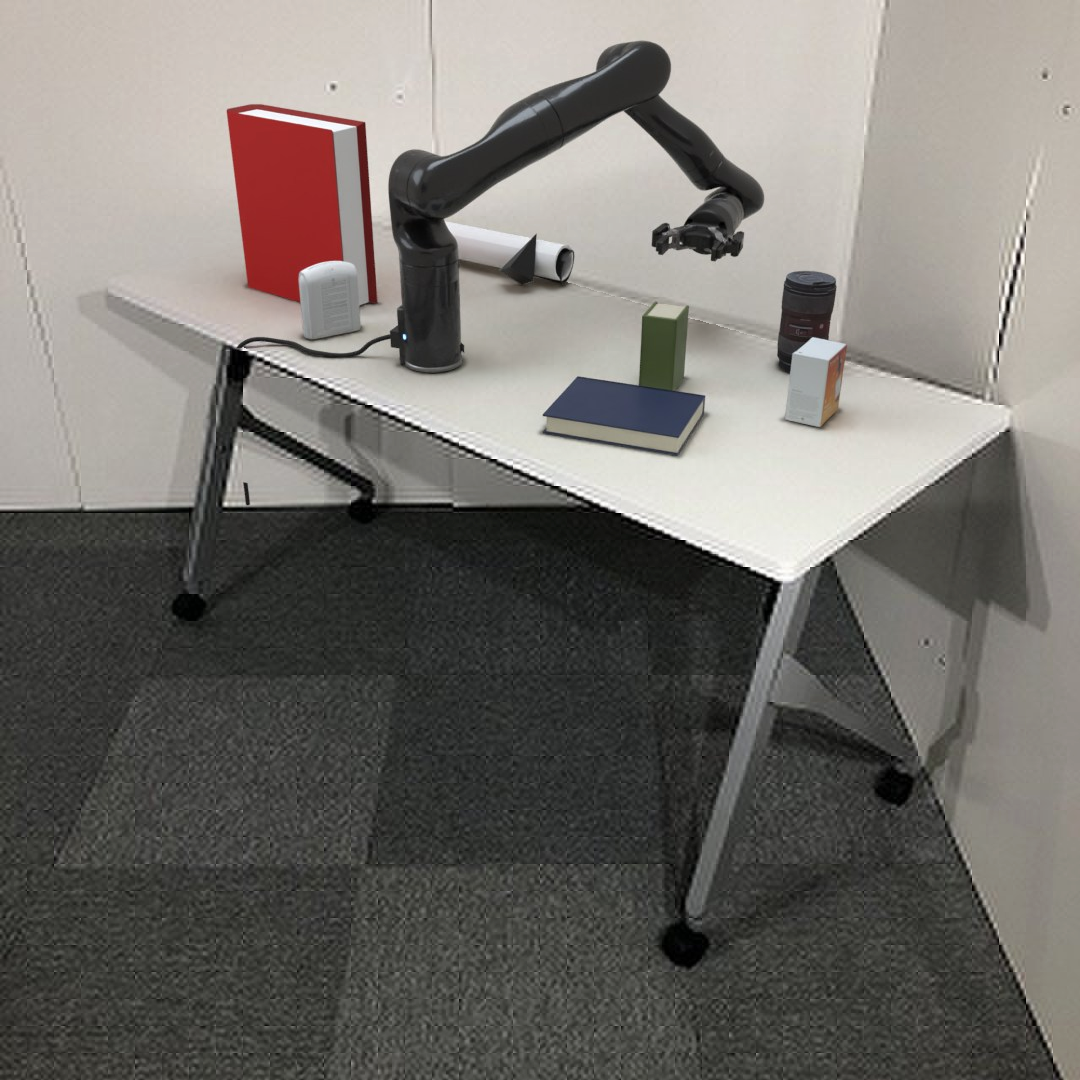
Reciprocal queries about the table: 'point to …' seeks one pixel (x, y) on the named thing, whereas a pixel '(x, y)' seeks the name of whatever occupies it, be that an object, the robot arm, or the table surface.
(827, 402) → the small box
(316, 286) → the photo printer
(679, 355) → the dictionary
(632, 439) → the block
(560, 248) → the diploma
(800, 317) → the camera lens
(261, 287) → the book
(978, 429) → the table surface
